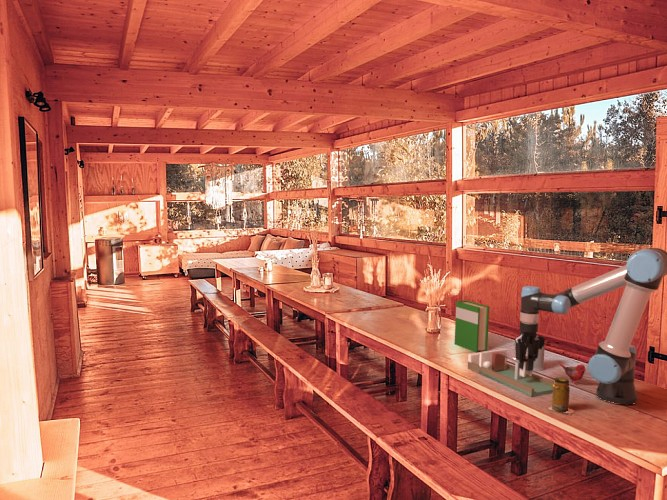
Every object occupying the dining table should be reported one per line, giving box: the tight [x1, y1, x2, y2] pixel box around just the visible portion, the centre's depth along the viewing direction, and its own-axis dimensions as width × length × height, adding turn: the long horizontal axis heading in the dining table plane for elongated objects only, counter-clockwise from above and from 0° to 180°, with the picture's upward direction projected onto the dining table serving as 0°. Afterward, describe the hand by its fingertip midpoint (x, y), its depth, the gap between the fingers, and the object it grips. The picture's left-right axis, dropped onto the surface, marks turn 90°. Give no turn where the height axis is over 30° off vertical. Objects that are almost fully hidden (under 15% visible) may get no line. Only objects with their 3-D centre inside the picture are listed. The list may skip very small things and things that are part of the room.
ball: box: [483, 361, 492, 369], centre depth 261 cm, size 4×4×4 cm
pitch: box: [467, 348, 554, 398], centre depth 247 cm, size 40×15×10 cm, turn 26°
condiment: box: [547, 376, 571, 416], centre depth 213 cm, size 7×8×12 cm
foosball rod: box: [491, 352, 534, 372], centre depth 246 cm, size 20×6×10 cm, turn 26°
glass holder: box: [513, 336, 546, 372], centre depth 265 cm, size 9×14×15 cm, turn 78°
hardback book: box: [453, 300, 490, 353], centre depth 298 cm, size 18×7×24 cm, turn 27°
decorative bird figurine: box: [558, 362, 587, 386], centre depth 246 cm, size 3×18×10 cm, turn 15°
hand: (525, 375), depth 240 cm, fingers open, 3 cm apart
